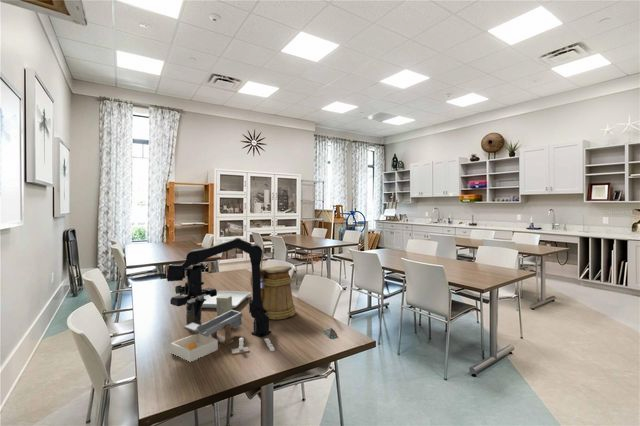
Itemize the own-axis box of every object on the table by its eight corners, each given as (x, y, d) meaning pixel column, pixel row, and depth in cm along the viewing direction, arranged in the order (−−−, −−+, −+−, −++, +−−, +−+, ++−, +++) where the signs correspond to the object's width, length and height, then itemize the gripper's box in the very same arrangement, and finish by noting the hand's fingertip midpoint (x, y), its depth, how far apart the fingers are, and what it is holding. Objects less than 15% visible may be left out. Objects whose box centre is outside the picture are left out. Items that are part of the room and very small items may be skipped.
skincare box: (232, 320, 156) (232, 296, 156) (227, 323, 152) (227, 298, 151) (221, 319, 158) (221, 294, 157) (216, 322, 153) (216, 297, 153)
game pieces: (233, 359, 118) (233, 344, 118) (229, 344, 130) (229, 330, 130) (340, 340, 135) (341, 327, 135) (328, 329, 147) (328, 317, 147)
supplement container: (201, 327, 147) (201, 305, 146) (185, 329, 144) (185, 307, 144) (201, 322, 153) (201, 301, 153) (186, 324, 150) (186, 302, 150)
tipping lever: (219, 317, 148) (218, 305, 147) (243, 325, 139) (241, 312, 138) (185, 335, 133) (183, 322, 132) (208, 344, 124) (207, 330, 124)
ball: (196, 353, 122) (200, 343, 123) (189, 352, 119) (192, 342, 120) (191, 350, 124) (194, 341, 125) (183, 350, 121) (187, 340, 122)
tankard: (299, 318, 160) (300, 269, 160) (252, 323, 152) (253, 272, 152) (290, 307, 177) (291, 262, 177) (248, 311, 169) (248, 265, 169)
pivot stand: (216, 335, 138) (216, 318, 138) (233, 341, 132) (233, 324, 132) (208, 338, 135) (208, 321, 134) (225, 345, 129) (225, 327, 128)
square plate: (252, 297, 197) (252, 291, 196) (236, 312, 169) (236, 304, 169) (210, 295, 199) (210, 289, 199) (188, 310, 172) (188, 302, 172)
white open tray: (217, 349, 125) (217, 339, 124) (189, 362, 114) (189, 351, 114) (198, 342, 131) (198, 332, 131) (170, 353, 121) (170, 343, 121)
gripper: (201, 273, 145) (202, 307, 146) (162, 281, 130) (163, 319, 130) (217, 276, 139) (217, 311, 139) (178, 285, 123) (178, 325, 124)
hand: (195, 316), depth 133 cm, fingers closed
